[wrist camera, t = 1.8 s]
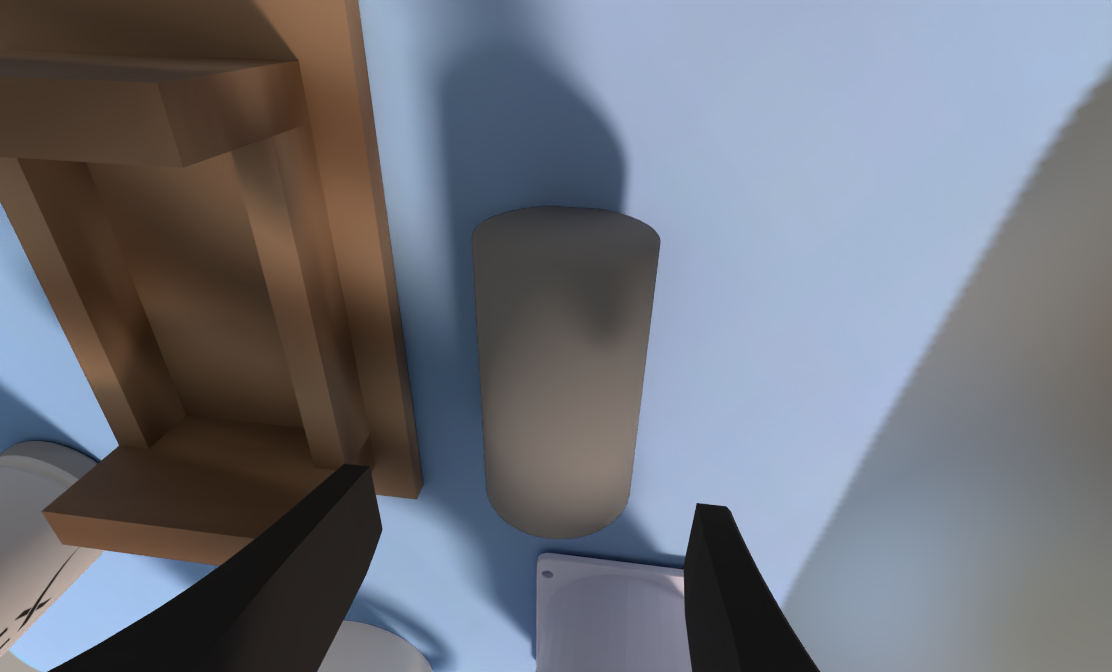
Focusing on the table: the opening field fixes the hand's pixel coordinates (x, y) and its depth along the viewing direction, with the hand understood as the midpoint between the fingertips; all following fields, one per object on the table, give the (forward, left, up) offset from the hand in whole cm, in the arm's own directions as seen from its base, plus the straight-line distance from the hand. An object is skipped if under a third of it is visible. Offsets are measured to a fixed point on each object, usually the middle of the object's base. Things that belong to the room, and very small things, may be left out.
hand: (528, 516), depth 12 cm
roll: (0, 0, -8) cm, 8 cm away
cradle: (+1, +12, -8) cm, 15 cm away
